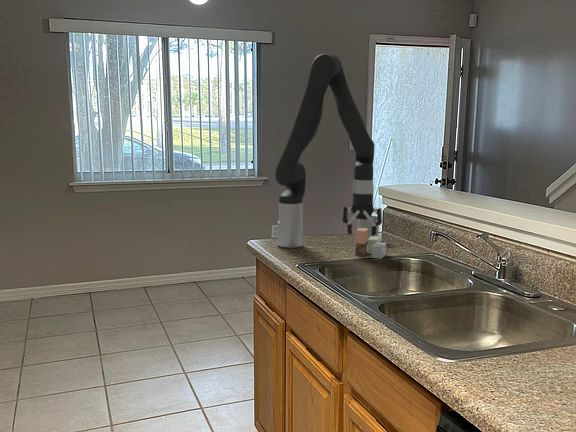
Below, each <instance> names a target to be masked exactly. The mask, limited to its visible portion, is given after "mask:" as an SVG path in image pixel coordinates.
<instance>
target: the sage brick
mask: <svg viewBox="0 0 576 432" xmlns="http://www.w3.org/2000/svg"><path fill="white" fill-rule="evenodd" d="M377 242H380V243H381V236H379V235H378V236H370V238H369V239H368V243H367V252H368V251H369V252H372V246H373V245H374V244H375V243H377Z"/></svg>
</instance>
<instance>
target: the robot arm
mask: <svg viewBox="0 0 576 432" xmlns="http://www.w3.org/2000/svg"><path fill="white" fill-rule="evenodd" d="M328 87H329V88H330V90H331V92H332V95H333V97H334V100H335V101H334V102H335V106H336V109H337V114H338V116H339V118H340V121H341V123H342V125H343V127H344V129H345V131H346V133H347V134H348V137H349V140H350V142H351V145H352V148H353V150H354V153H355V165H354V169H353V183H352V205H351V207H350V206H347V205H346V206H344V207H343V212H342V223H345V224H346V225H347V233H348V235H353V222H354V221H355V220H356V219H357V220H358V219H364V220H366V219H368V220H369V221H370V222H371V224H372V225H373V226H372V236H374V235H376V229H377V225H379V226H380V225H381V224H383V216H382V215H383V214H382V212H383V211H382V210H383V209H382V208H381V207H379V208H374V191H375V190H374V188H375V187H374V186H375V185H374V159H375V148H376V147H375V143H374V140H373V139H372V138H371V136H370V135H369V133H368V131H367V129H366V126H365V122H364V120H363V117H362V115H361V113H360V111H359V109H358V107H357V105H356V103H355V100H354V98H353V95H352V94H351V91H350V88H349V86H348V82H347V80H346V76H345V73H344V68H343V65H342V62H341V60H340V57H338V56H336V55H335V54H331V53H321V54H319V55H317V56H316V57H315V58H314V60H313V61H312V63H311V66H310V70H309V75H308V80H307V85H306V87H305V90H304V92H303V93H304V94H303V96H302V98H301V101H300V104H299V107H298V110H297V113H296V115H295V119H294V121H293V124H292V127H291V129H290V130H291V131H290V133H289V136H288V139H287V143H285V144H286V145H285V147H284V150H283V152H282V155H281V156H280V158H279V161H278V163H277V166H276V168H275V171H274V176H275V181H276V182H277V183H278V185H281V186H284V190H283V191H282V193H280V195H279V196H278V221H277V223H276V234H277V235H276V246H277V247H281V248H290V249H291V248H302V246H303V200H304V197H305V192H306V180H307V179H306V178H307V176H306V175H307V174H306V168H305V166H304V164H303V163H302V162H301V161H299V160H300V158H301V156H302V154H303V152H304V151H305V149H306V148H308V146H309V145H310V143H311V142H312V141H313V140H314V138H315V136H316V135H317V132H318V130H319V126H320V124H321V121H322V116H323V110H324V108H323V107H324V98H325V95H326V92H327V89H328ZM350 211H351V212H352V214H353V215H352V216H351V217H350V219H348V217H349V213H350ZM373 213H375V215H377V222H376V221H375V220H374V218H373V216H374V215H373Z"/></svg>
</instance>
